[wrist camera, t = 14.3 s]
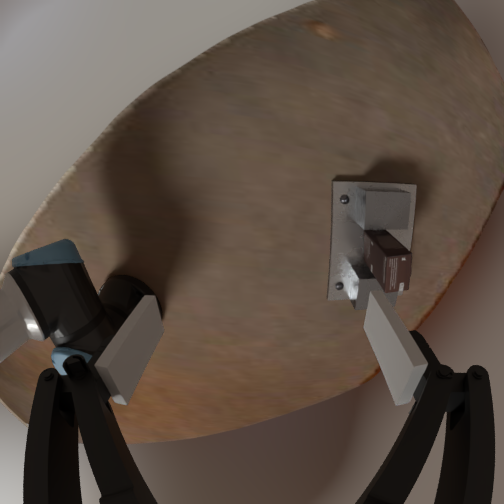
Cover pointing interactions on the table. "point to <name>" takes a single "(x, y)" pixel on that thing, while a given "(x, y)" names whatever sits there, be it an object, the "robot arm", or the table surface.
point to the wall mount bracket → (352, 239)
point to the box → (387, 260)
